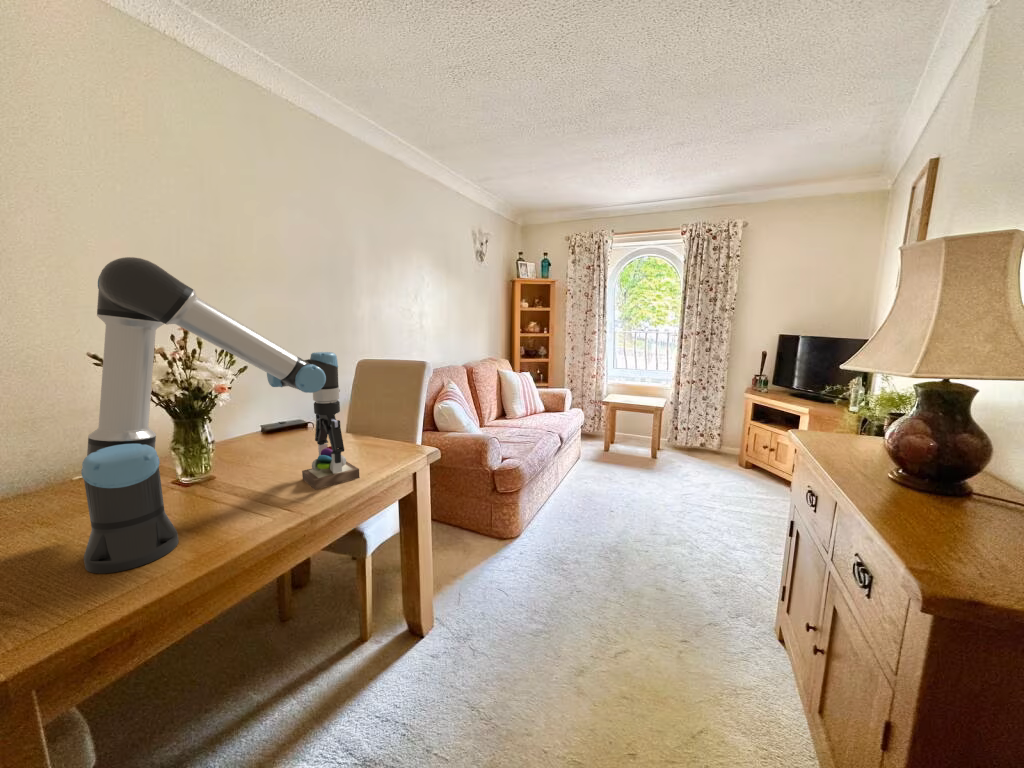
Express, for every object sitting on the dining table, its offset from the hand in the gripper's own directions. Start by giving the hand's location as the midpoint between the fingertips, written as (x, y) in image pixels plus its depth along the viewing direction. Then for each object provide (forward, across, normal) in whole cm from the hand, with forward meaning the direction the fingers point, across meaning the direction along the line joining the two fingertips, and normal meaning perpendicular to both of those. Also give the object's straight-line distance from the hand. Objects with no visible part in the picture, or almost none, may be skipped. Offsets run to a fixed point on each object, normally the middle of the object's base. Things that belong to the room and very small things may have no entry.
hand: (330, 467), depth 132 cm
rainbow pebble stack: (+1, 0, 0) cm, 1 cm away
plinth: (+4, 0, 0) cm, 4 cm away
